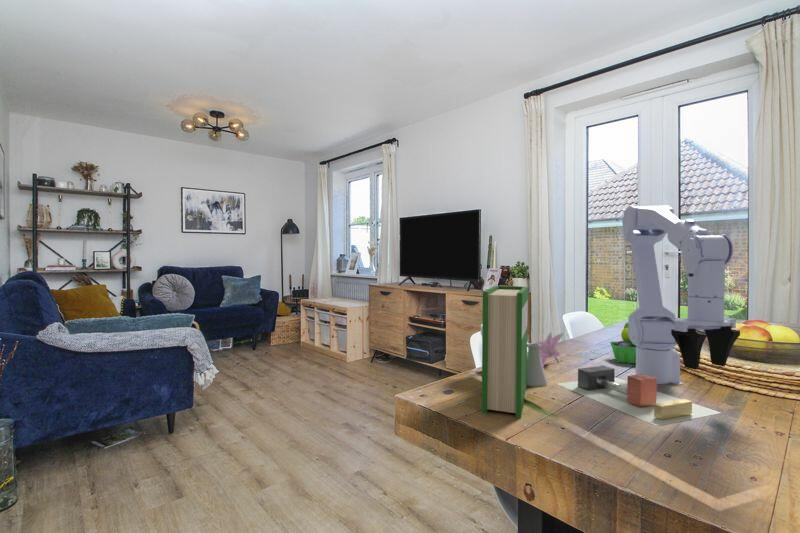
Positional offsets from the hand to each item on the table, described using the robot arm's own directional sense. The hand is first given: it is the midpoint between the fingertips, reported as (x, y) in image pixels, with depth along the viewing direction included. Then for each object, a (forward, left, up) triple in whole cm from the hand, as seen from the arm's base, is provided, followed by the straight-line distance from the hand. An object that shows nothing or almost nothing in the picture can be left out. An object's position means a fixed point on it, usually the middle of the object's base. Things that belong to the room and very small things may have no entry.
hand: (704, 366), depth 78 cm
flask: (+20, -26, -10) cm, 34 cm away
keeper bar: (+9, 0, -9) cm, 12 cm away
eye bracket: (+9, -18, -9) cm, 22 cm away
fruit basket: (-23, -35, -10) cm, 43 cm away
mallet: (+9, -13, -8) cm, 18 cm away
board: (+7, -10, -10) cm, 16 cm away
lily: (+5, -39, -10) cm, 40 cm away
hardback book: (+32, -20, -10) cm, 39 cm away
